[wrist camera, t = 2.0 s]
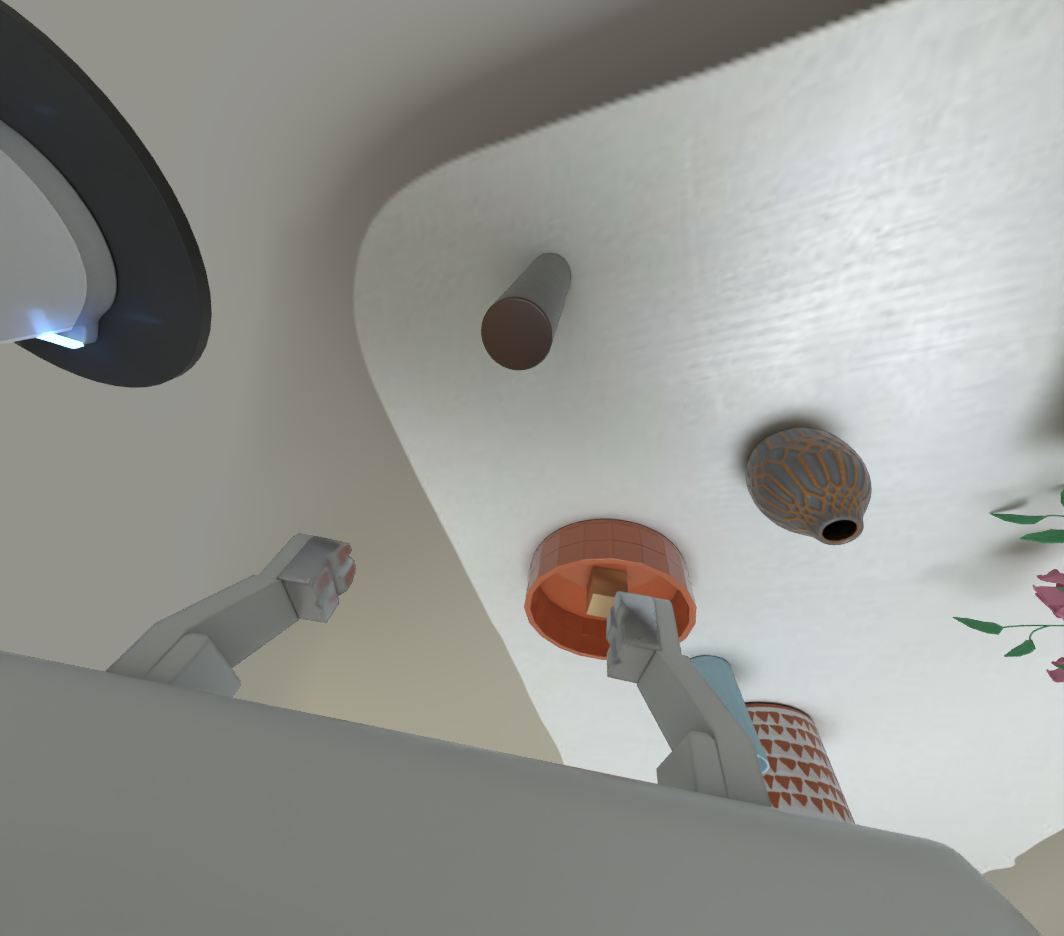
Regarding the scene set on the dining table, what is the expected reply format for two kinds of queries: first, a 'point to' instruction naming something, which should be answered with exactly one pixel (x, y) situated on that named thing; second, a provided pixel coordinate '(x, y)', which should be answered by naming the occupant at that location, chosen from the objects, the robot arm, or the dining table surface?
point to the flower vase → (1056, 598)
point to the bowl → (567, 571)
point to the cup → (730, 698)
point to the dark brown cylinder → (527, 314)
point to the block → (604, 590)
